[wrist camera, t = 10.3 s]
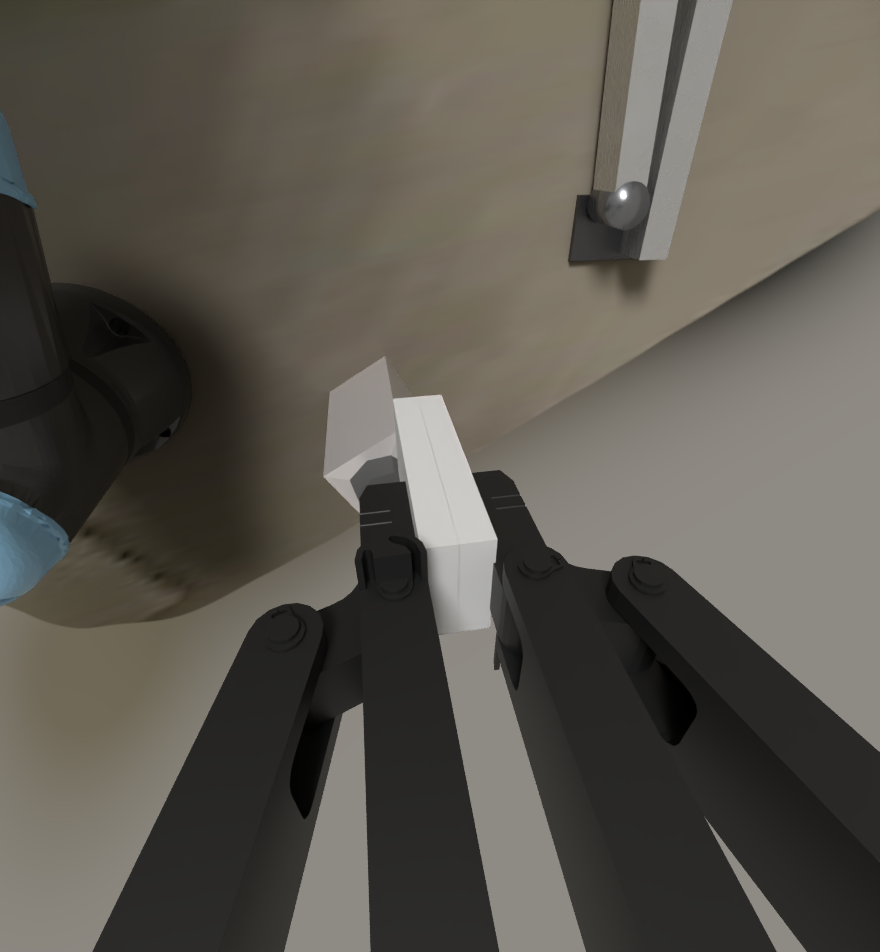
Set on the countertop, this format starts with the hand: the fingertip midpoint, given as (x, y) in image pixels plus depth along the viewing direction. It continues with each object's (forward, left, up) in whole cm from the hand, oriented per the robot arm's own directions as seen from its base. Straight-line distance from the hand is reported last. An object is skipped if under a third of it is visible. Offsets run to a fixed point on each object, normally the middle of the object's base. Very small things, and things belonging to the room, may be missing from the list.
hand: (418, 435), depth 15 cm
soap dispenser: (0, -12, -30) cm, 32 cm away
